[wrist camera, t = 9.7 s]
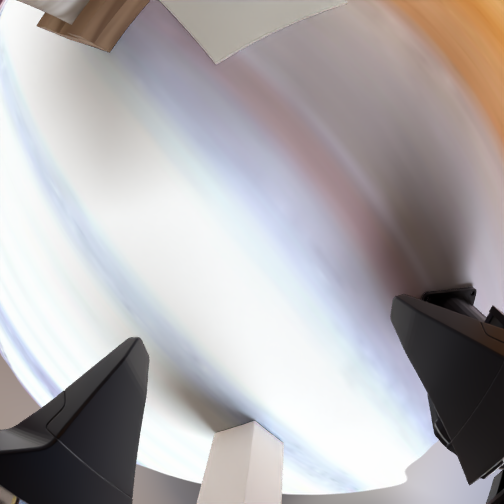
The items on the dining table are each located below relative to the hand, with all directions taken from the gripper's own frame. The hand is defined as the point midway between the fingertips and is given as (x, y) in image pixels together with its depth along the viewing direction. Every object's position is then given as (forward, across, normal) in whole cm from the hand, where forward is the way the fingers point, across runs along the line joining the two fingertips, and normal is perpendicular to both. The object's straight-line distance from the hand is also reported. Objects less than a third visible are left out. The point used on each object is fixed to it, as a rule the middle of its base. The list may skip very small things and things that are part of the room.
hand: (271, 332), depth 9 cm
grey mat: (+13, -2, -20) cm, 24 cm away
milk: (+10, +4, +24) cm, 27 cm away
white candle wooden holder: (+15, +10, -22) cm, 28 cm away
